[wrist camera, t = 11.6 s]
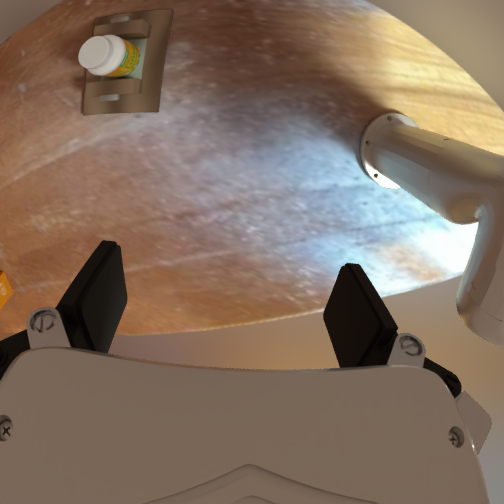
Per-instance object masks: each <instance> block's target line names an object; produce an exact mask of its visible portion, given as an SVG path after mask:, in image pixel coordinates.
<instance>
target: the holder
mask: <svg viewBox="0 0 504 504" xmlns="http://www.w3.org/2000/svg"><path fill="white" fill-rule="evenodd" d="M173 13H174V11H173V9H163V10H150V11H140V12H131V13H124V14H118V15H112V16H106V17H101V18H96V19H95V24H94V29H93V34H92V37H95V36H104V35H115V36H118V37H120V38H122V39H124V40H126V41H128V42H131V43H133V44H134V45H136V46H137V47H138V48H139V49H140V51H141V62H140V64H139V66H138V68H137V69H136V70H135V71H134V72H133V73H132V74H130V75H129V76H126V77H122V78H116V77H108V76H99V75H94V74H92V73H90V72H89V71H88V70H87V72H86V82H85V93H84V108H83V116H84V115H95V114H110V113H135V112H159V104H160V94H161V86H162V78H163V70H164V63H165V56H166V50H167V44H168V38H169V33H170V27H171V22H172V17H173Z"/></svg>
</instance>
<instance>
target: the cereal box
mask: <svg viewBox="0 0 504 504" xmlns="http://www.w3.org/2000/svg"><path fill="white" fill-rule="evenodd" d="M12 293H13V291H12V289H11V287H10V285H9V283H8V280H7V278H6V276H5V274H4V272H0V310H1V308H2V307H3V305H4V304H5V303H6V301H7V300H8V299H9V297H10V296H11V294H12Z"/></svg>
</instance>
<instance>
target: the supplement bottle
mask: <svg viewBox="0 0 504 504" xmlns="http://www.w3.org/2000/svg"><path fill="white" fill-rule="evenodd" d="M78 59H79V63H80V64H81V66H83V67H84V68H87V70H88V71H89V72H90V73H92V74H94V75H99V76H108V77H116V78H122V77H126V76H129V75H130V74H132V73H133V72H134V71H135V70H136V69H137V68H138V66H139V64H140V62H141V51H140V49H139V48H138V47H137V46H136V45H134V44H133V43H131V42H128V41H126V40H124V39H122V38H120V37H118V36H115V35H104V36H95V37H92V38H90V39H88V40H87V41H86V42H85V43H84V44H83V45H82V47H81V49H80V51H79V55H78Z"/></svg>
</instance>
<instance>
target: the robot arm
mask: <svg viewBox="0 0 504 504" xmlns="http://www.w3.org/2000/svg"><path fill="white" fill-rule="evenodd" d="M387 118H388V119H387ZM366 141H367V143H366ZM360 155H361V161H362V165H363V167H364V169H365V171H366V173H367V174H368V175H369V177H370V178H371V179H372V180H373V181H375V182H376V183H378V184H379V185H381V186H383V187H387V188H400V187H401V188H402V189H404V190H405V191H407V192H408V193H410V194H411V195H413V196H414V197H416V198H417V199H419V200H420V201H421V202H423V203H424V204H426V205H427V206H428V207H430V208H431V209H432V210H434V211H435V212H436V213H438V214H439V215H441V216H442V217H443V218H445V219H446V220H448V221H450V222H452V223H455V224H460V225H465V224H472V223H476V222H479V224H478V230H477V234H476V237H475V243H474V246H473V249H472V252H471V255H470V258H469V260H468V263H467V266H466V269H465V271H464V274H463V277H462V279H461V282H460V285H459V288H458V292H457V297H456V306H457V311H458V314H459V316H460V318H461V320H462V321H463V323H464V324H465V325H466V326H467V327H468V328H469V329H470V330H471V331H472V332H474V333H475V334H476V335H478V336H480V337H481V338H483V339H485V340H487V341H489V342H491V343H493V344H495V345H498V346H500V347H502V348H504V156H502V155H498V154H495V153H492V152H489V151H486V150H483V149H481V148H478V147H475V146H472V145H470V144H467V143H464V142H461V141H458V140H455V139H452V138H449V137H446V136H443V135H440V134H437V133H434V132H430V131H427V130H424V129H420V128H419V126H418V125H417V124H416V123H415V122H414V121H413V120H412V119H411V118H409V117H407V116H406V115H403V114H399V113H385V114H382V115H380V116H378V117H376V118H375V119H374V120H373V121H371V122H370V124H369V125H368V126H367V128H366V129H365V131H364V134H363V136H362V140H361V146H360ZM126 304H127V291H126V285H125V278H124V271H123V263H122V255H121V248H120V246H119V245H117V243H116V242H115V241H105V240H103V241H102V242H101V243H100V244H99V246H98V247H97V248H96V250H95V251H94V252H93V254H92V255H91V256H90V258H89V259H88V260H87V262H86V263H85V265H84V266H83V267H82V269H81V270H80V272H79V273H78V274H77V276H76V277H75V279H74V280H73V282H72V283H71V285H70V286H69V288H68V289H67V291H66V292H65V294H64V295H63V297H62V299H61V300H60V302H59V303H58V305H57V307H56V308H52V307H42V308H39V309H37V310H35V311H34V312H33V313H31V315H30V316H29V317H28V320H27V324H26V327H27V329H26V330H24V331H22V332H19V333H17V334H15V335H13V336H10V337H8V338H6V339H4V340H2V341H0V504H490V503H489V498H488V493H487V488H486V484H485V480H484V476H483V472H482V468H481V465H480V461H479V458H478V454H479V452H480V450H481V448H482V445H483V444H484V442H485V440H486V437H487V435H488V433H489V431H490V429H491V425H492V423H491V418H490V416H489V414H488V413H487V412H486V411H485V410H484V409H483V408H482V407H481V406H480V405H479V404H478V403H477V402H476V401H475V400H474V399H473V398H472V397H471V396H470V395H469V394H468V393H467V392H466V391H464V392H463V393H462V392H461V383H460V381H459V379H458V377H457V376H456V375H455V374H453V373H452V372H450V371H448V370H447V369H445V368H443V367H442V366H440V365H438V364H436V363H434V362H433V361H431V360H429V359H428V358H426V357H425V352H426V351H425V347H424V344H423V343H422V341H421V340H420V339H419V338H417V337H416V336H414V335H412V334H410V333H401V334H399V335H398V334H397V332H396V331H397V329H398V327H397V325H396V323H395V321H394V320H393V318H392V316H391V315H390V313H389V311H388V309H387V308H386V306H385V304H384V303H383V301H382V299H381V298H380V296H379V294H378V293H377V291H376V289H375V288H374V286H373V285H372V283H371V281H370V280H369V278H368V277H367V275H366V274H365V272H364V270H363V269H362V267H361V266H360V265H359V264H353V263H346V264H345V266H342V267H341V269H340V271H339V274H338V277H337V280H336V282H335V285H334V287H333V290H332V293H331V295H330V298H329V300H328V303H327V305H326V308H325V310H324V314H323V319H324V322H325V325H326V327H327V330H328V333H329V336H330V339H331V342H332V345H333V348H334V351H335V354H336V357H337V360H338V363H339V366H340V368H331V369H306V370H305V369H302V370H264V369H234V368H218V367H205V366H194V365H182V364H174V363H165V362H158V361H151V360H144V359H138V358H131V357H125V356H119V355H113V354H108V351H109V348H110V345H111V343H112V340H113V337H114V334H115V332H116V329H117V327H118V324H119V321H120V319H121V316H122V314H123V311H124V309H125V307H126Z"/></svg>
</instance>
